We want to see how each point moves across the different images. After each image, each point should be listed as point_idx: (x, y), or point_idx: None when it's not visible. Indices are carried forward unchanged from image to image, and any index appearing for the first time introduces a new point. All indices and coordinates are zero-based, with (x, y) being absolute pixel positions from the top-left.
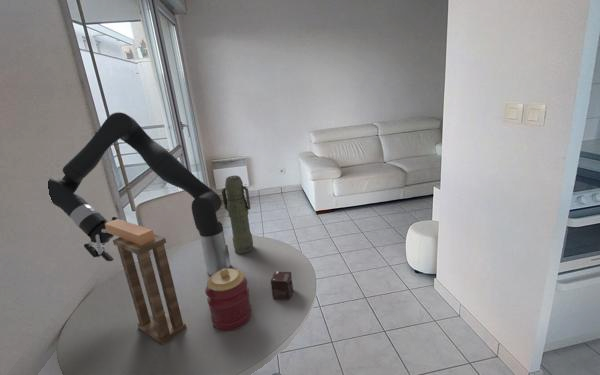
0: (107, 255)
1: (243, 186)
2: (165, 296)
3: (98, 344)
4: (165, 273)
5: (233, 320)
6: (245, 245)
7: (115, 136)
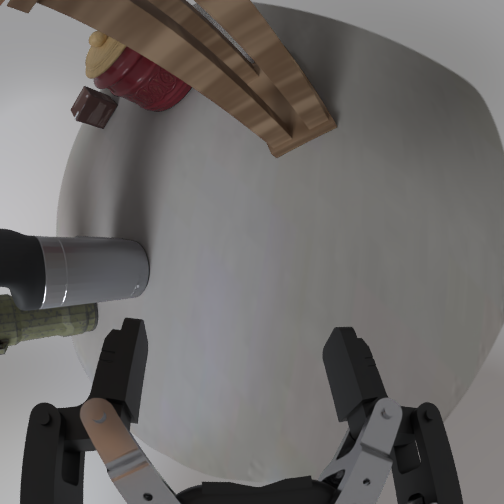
0: (346, 370)
1: None
2: (209, 24)
3: (431, 123)
4: None
5: None
6: None
7: None
